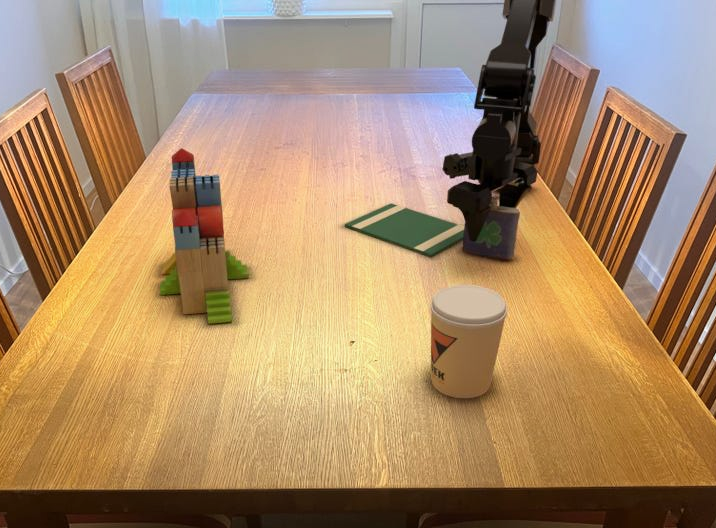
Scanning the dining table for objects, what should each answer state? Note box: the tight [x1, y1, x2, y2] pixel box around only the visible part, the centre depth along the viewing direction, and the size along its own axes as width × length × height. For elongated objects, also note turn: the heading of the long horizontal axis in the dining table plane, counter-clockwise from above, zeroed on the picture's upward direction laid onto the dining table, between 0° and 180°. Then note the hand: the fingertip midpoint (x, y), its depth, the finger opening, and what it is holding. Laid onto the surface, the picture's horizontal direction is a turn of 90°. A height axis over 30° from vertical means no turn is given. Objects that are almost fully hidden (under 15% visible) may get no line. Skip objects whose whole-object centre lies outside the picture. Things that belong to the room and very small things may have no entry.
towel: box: [344, 203, 465, 258], centre depth 139 cm, size 14×20×1 cm
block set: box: [159, 148, 249, 324], centre depth 116 cm, size 28×14×19 cm, turn 9°
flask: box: [461, 195, 521, 262], centre depth 127 cm, size 9×3×11 cm, turn 62°
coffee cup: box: [429, 284, 508, 399], centre depth 94 cm, size 9×9×12 cm
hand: (487, 232), depth 127 cm, fingers open, 9 cm apart
